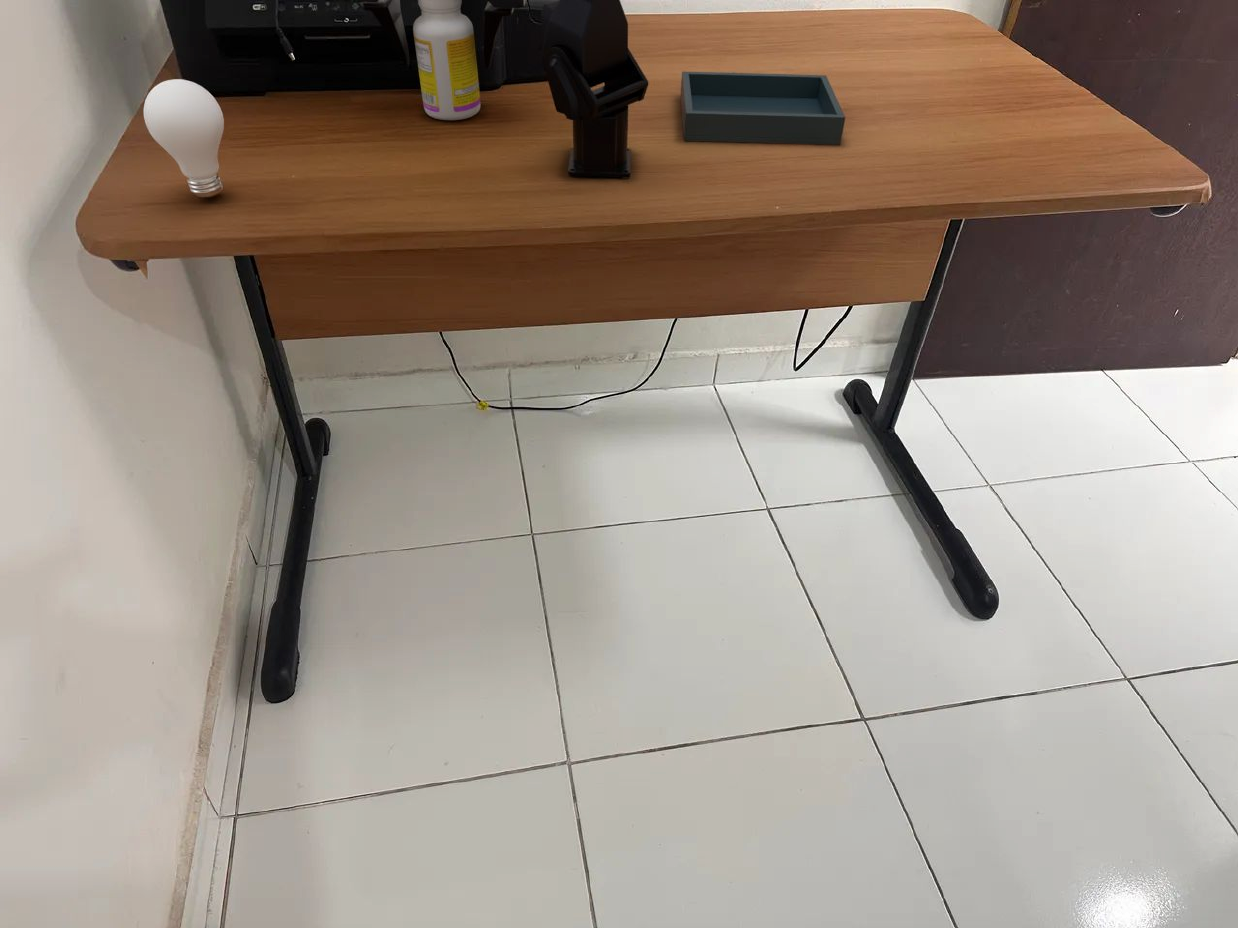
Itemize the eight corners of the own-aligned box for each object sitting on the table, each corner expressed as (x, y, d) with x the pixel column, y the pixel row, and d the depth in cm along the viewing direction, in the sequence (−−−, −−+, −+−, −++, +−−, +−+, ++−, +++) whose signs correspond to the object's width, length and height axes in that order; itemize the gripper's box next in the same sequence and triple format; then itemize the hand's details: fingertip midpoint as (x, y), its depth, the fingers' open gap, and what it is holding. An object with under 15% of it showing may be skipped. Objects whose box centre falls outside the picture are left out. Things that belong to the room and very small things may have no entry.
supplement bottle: (486, 103, 105) (476, -15, 96) (474, 124, 100) (462, 2, 91) (432, 100, 105) (417, -17, 97) (417, 121, 100) (400, -1, 92)
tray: (840, 145, 97) (845, 117, 95) (684, 141, 97) (685, 113, 95) (821, 101, 107) (826, 75, 105) (680, 97, 108) (681, 71, 105)
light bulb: (253, 183, 87) (221, 69, 80) (233, 213, 83) (198, 94, 75) (186, 182, 87) (148, 68, 80) (162, 212, 82) (120, 94, 75)
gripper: (530, -105, 94) (535, 47, 105) (359, -112, 94) (381, 40, 105) (519, -82, 86) (526, 80, 97) (332, -90, 86) (359, 73, 97)
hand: (447, 66), depth 99 cm, fingers open, 9 cm apart
